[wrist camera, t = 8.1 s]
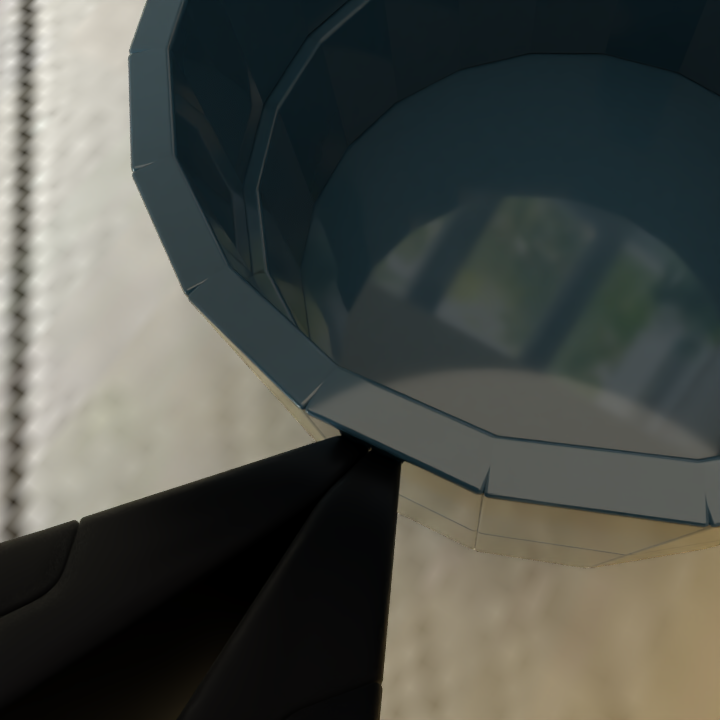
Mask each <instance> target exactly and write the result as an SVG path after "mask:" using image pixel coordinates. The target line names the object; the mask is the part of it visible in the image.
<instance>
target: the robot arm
mask: <svg viewBox="0 0 720 720" xmlns="http://www.w3.org/2000/svg"><path fill="white" fill-rule="evenodd" d="M400 477H401V463H400V462H398V461H396V460H394V459H392V458H390V457H388V456H385V455H383V454H381V453H379V452H377V451H374V450H370V451H369V450H368V448H367V447H365V446H364V445H362V444H359V443H357V442H355V441H353V440H351V439H348V438H346V437H344V436H341V435H338V436H334V437H331V438H328V439H324V440H321V441H318V442H315V443H312V444H309V445H306V446H303V447H300V448H297V449H293V450H290V451H287V452H284V453H281V454H278V455H275V456H272V457H269V458H266V459H262V460H259V461H256V462H253V463H250V464H247V465H244V466H241V467H238V468H235V469H231V470H228V471H225V472H222V473H219V474H216V475H213V476H210V477H207V478H204V479H200V480H197V481H194V482H191V483H188V484H185V485H182V486H179V487H176V488H173V489H169V490H166V491H163V492H160V493H157V494H154V495H151V496H148V497H145V498H142V499H139V500H135V501H132V502H129V503H126V504H123V505H120V506H117V507H114V508H111V509H108V510H104V511H101V512H98V513H95V514H92V515H89V516H86V517H83V518H82V519H81V521H80V523H79V522H78V521H76V520H73V521H70V522H66V523H63V524H60V525H57V526H54V527H51V528H48V529H45V530H42V531H38V532H35V533H32V534H28V535H25V536H22V537H18V538H15V539H12V540H8V541H5V542H2V543H0V720H380V710H381V699H382V686H381V684H382V681H383V672H384V660H385V649H386V637H387V626H388V614H389V603H390V592H391V580H392V569H393V557H394V546H395V534H396V523H397V511H398V500H399V489H400Z"/></svg>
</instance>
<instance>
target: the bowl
mask: <svg viewBox="0 0 720 720" xmlns="http://www.w3.org/2000/svg"><path fill="white" fill-rule="evenodd" d="M129 52H130V55H129V57H128V68H129V106H130V143H131V170H132V172H133V173H132V176H133V180H134V182H135V184H136V187H137V189H138V191H139V193H140V196H141V198H142V200H143V202H144V205H145V207H146V209H147V211H148V214H149V216H150V218H151V220H152V223H153V225H154V227H155V229H156V232H157V234H158V236H159V238H160V241H161V243H162V245H163V247H164V250H165V252H166V254H167V256H168V259H169V261H170V263H171V265H172V268H173V270H174V272H175V274H176V277H177V279H178V281H179V283H180V286H181V288H182V290H183V292H184V294H185V295H186V296H187V297H188V299H189V302H190V303H191V304H192V305H193V306H194V307H195V308H196V309H197V310H198V312H199V313H200V314H201V315H202V316H203V317H204V318H205V319H206V320H207V322H208V323H209V324H210V325H211V326H212V327H213V328H214V329H215V330H216V332H217V333H218V334H219V335H220V336H221V337H222V338H223V339H224V340H225V342H226V343H227V344H228V345H229V346H230V347H231V348H232V349H233V350H234V351H235V353H236V354H237V355H238V356H239V357H240V358H241V359H242V360H243V361H244V363H245V364H246V365H247V366H248V367H249V368H250V369H251V370H252V371H253V373H254V374H255V375H256V376H257V377H258V378H259V379H260V380H261V381H262V383H263V384H264V385H265V386H266V387H267V388H268V389H269V390H270V391H271V392H272V394H273V395H274V396H275V397H276V398H277V399H278V400H279V401H280V402H281V404H282V405H283V406H284V407H285V408H286V409H287V410H288V411H289V412H290V414H291V415H292V416H293V417H294V418H295V419H296V420H297V421H298V422H299V424H300V425H301V426H302V427H303V428H304V429H305V430H306V431H307V432H308V434H309V435H310V436H311V437H312V438H313V439H314V440H315V441H316V442H318V441H321V440H324V439H328V438H331V437H334V436H338V435H341V436H344V437H346V438H348V439H351V440H353V441H355V442H357V443H359V444H362V445H364V446H365V447H367V448H368V450H369V451H370V450H374V451H377V452H379V453H381V454H383V455H385V456H388V457H390V458H392V459H394V460H396V461H398V462H400V463H401V477H400V489H399V500H398V511H397V513H399V514H401V515H403V516H405V517H407V518H409V519H411V520H413V521H415V522H417V523H419V524H421V525H423V526H425V527H427V528H429V529H431V530H433V531H435V532H437V533H439V534H441V535H443V536H445V537H447V538H449V539H451V540H453V541H455V542H457V543H459V544H461V545H463V546H465V547H467V548H469V549H475V550H476V551H477V552H483V553H489V554H496V555H502V556H509V557H515V558H522V559H528V560H535V561H541V562H548V563H554V564H561V565H567V566H574V567H580V568H588V567H589V568H595V567H601V566H607V565H613V564H620V563H626V562H632V561H638V560H644V559H650V558H656V557H662V556H668V555H674V554H680V553H686V552H692V551H698V550H702V549H706V548H710V547H714V546H718V545H720V0H147V1H146V3H145V6H144V9H143V12H142V15H141V18H140V21H139V23H138V26H137V29H136V32H135V35H134V38H133V40H132V43H131V46H130V49H129Z"/></svg>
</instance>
